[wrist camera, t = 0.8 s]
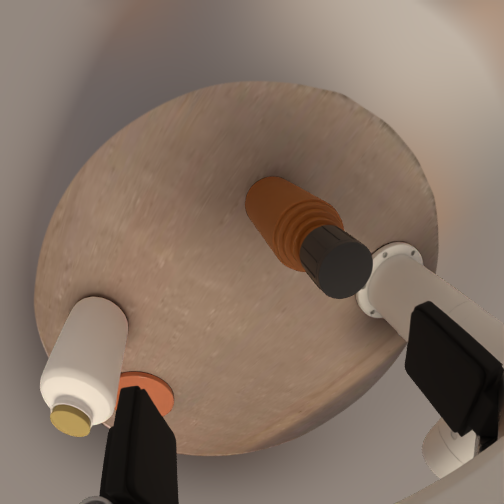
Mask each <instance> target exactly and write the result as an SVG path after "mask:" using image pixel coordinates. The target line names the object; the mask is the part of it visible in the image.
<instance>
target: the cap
mask: <svg viewBox="0 0 504 504" xmlns="http://www.w3.org/2000/svg"><path fill="white" fill-rule="evenodd" d="M300 261H301V264H302V266H303V268H304V269H305V270H306V273H307V274H308V275H309V276H310V278H311V279H312V280H313V281H314V282H315V284H316V285H317V286H318V287H319V289H321V290H322V291H323V292H324V293H325V294H326V295H328V296H329V297H332V298H336V299H343V298H347V297H350V296H352V295H354V294H356V293H357V292H359V291H360V290H361V289H362V288H363V287H364V286H365V284H366V283H367V282H368V280H369V278H370V276H371V273H372V269H373V258H372V255H371V253H370V251H369V249H368V248H367V247H366V246H365V245H363V244H362V243H361V242H359V241H358V240H356V239H355V238H354V237H352V236H351V235H349V234H348V233H347V232H345V231H343V230H342V229H341V228H339V227H337V226H334V225H324V226H320V227H318V228H316V229H314V230H312V231H311V232H310V233H309V234H308V235H307V236H306V238H305V239H304V241H303V243H302V245H301V248H300Z"/></svg>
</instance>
